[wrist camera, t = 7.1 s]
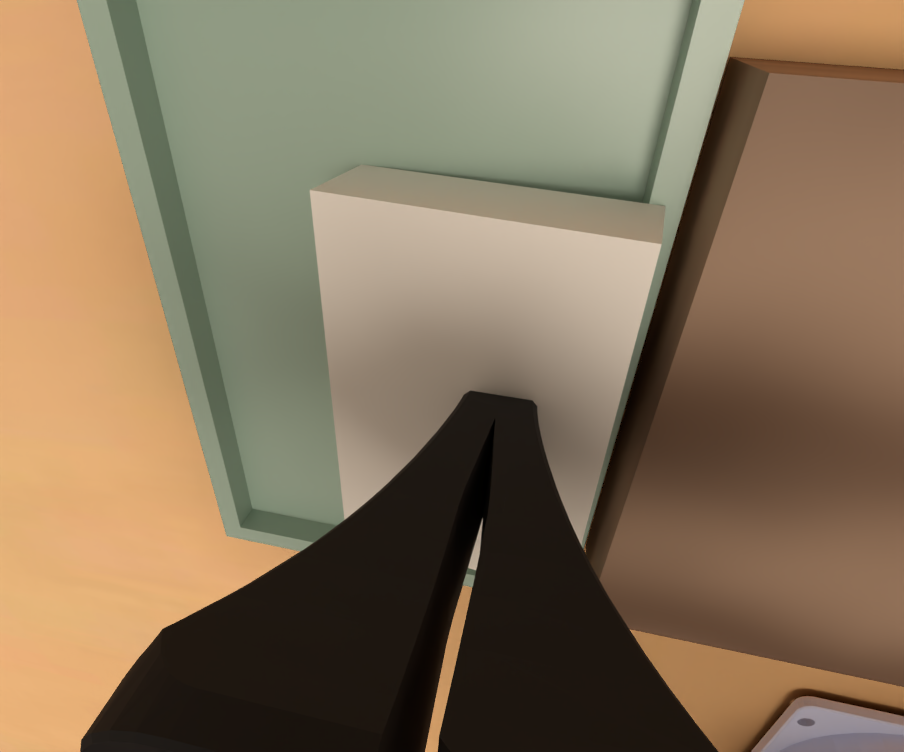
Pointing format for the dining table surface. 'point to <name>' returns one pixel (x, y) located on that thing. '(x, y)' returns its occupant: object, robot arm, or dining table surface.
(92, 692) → the dining table surface
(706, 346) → the deck
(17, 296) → the dining table surface
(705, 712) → the dining table surface
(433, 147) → the tray
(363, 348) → the tile
